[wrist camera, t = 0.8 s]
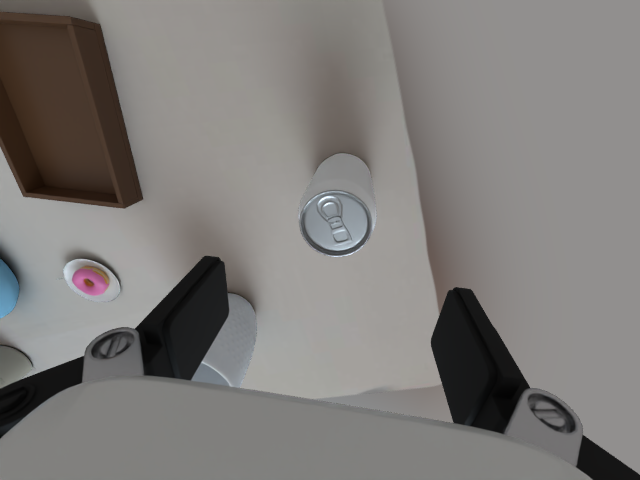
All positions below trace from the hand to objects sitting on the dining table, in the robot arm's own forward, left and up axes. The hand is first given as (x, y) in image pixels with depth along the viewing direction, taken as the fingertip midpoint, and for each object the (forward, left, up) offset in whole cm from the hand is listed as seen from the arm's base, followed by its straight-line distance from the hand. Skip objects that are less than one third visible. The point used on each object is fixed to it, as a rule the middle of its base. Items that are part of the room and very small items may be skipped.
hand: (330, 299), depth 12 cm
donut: (+21, -38, -22) cm, 49 cm away
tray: (-3, -32, -22) cm, 39 cm away
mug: (+24, -15, -22) cm, 36 cm away
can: (+1, 0, -22) cm, 22 cm away
